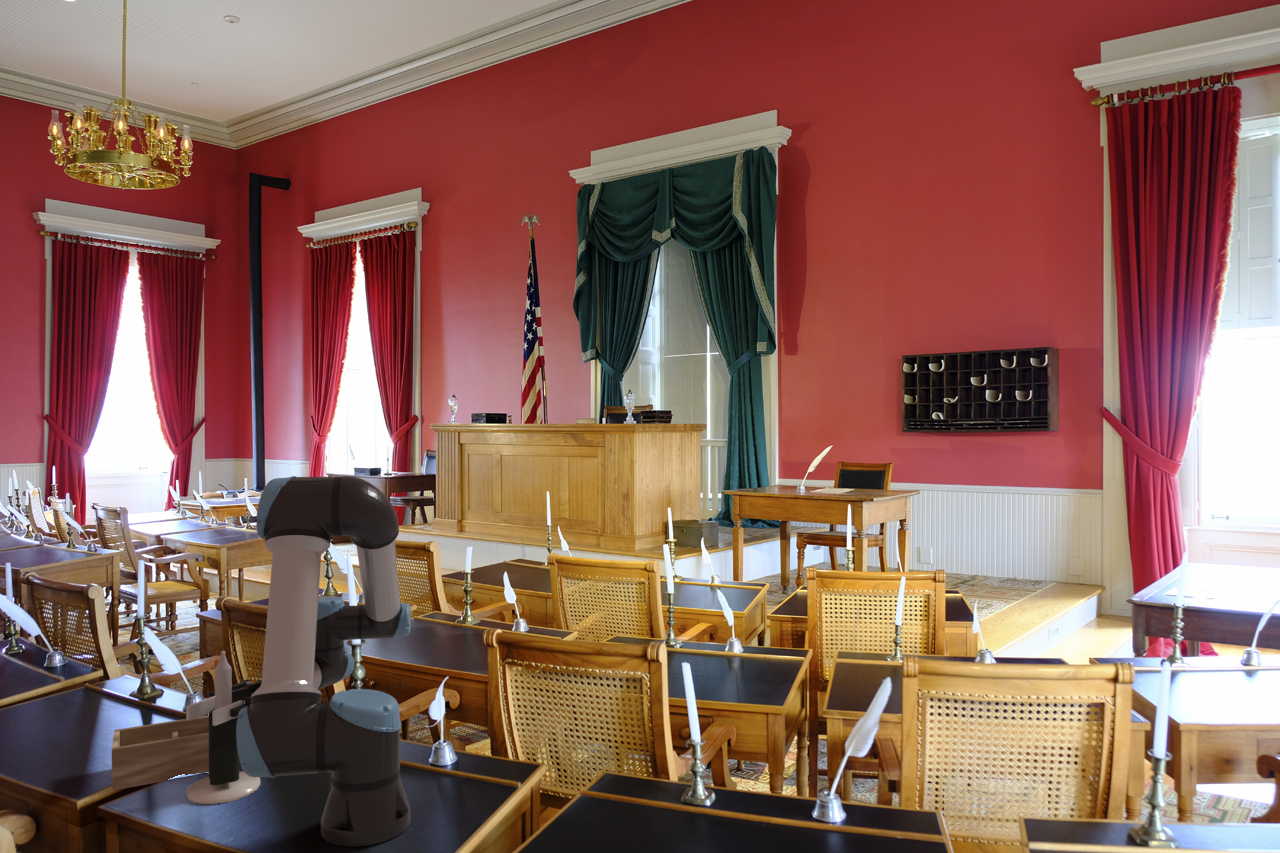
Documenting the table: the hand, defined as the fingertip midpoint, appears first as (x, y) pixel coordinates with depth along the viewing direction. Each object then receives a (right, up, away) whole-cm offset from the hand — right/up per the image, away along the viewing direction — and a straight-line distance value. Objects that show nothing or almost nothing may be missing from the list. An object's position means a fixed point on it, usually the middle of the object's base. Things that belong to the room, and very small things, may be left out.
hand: (200, 715), depth 164 cm
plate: (+2, -16, +5) cm, 17 cm away
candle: (+2, -14, +5) cm, 15 cm away
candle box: (-13, -16, +15) cm, 25 cm away
